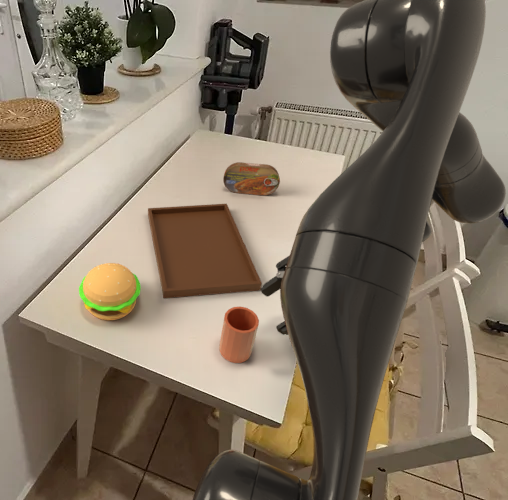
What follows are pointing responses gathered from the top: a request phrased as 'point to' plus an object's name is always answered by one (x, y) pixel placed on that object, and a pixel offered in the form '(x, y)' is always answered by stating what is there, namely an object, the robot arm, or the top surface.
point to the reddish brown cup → (238, 334)
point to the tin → (251, 178)
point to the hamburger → (109, 291)
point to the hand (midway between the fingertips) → (271, 311)
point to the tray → (200, 251)
